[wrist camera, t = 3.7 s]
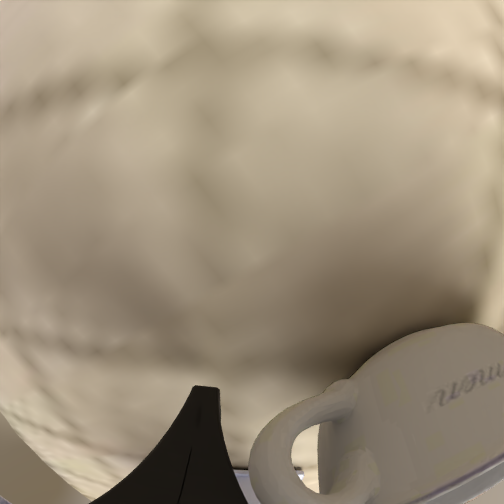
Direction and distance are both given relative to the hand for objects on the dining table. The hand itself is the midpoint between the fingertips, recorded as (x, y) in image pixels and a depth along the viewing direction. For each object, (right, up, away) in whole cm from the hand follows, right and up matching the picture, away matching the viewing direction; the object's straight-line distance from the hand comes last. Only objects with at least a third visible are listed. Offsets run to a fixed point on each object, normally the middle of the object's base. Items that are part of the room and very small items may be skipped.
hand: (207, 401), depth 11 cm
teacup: (+8, 0, +2) cm, 9 cm away
